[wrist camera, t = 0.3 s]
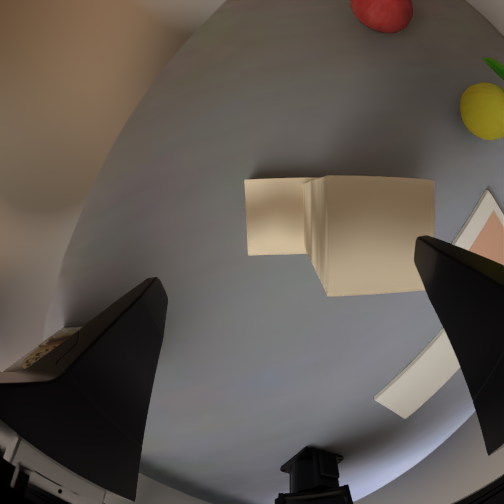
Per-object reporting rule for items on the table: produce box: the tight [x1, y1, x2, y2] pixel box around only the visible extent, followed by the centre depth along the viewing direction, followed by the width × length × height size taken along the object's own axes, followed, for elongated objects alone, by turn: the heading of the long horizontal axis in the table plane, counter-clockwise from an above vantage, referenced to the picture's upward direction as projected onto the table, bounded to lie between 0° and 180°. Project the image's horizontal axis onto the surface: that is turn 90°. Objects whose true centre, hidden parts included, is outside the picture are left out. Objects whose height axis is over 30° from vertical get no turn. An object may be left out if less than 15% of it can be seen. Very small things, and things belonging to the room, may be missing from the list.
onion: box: [350, 0, 413, 33], centre depth 15 cm, size 6×6×8 cm
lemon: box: [460, 57, 504, 140], centre depth 15 cm, size 7×6×10 cm
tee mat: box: [374, 190, 504, 419], centre depth 24 cm, size 25×20×1 cm
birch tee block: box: [245, 175, 435, 297], centre depth 17 cm, size 6×14×13 cm, turn 93°
